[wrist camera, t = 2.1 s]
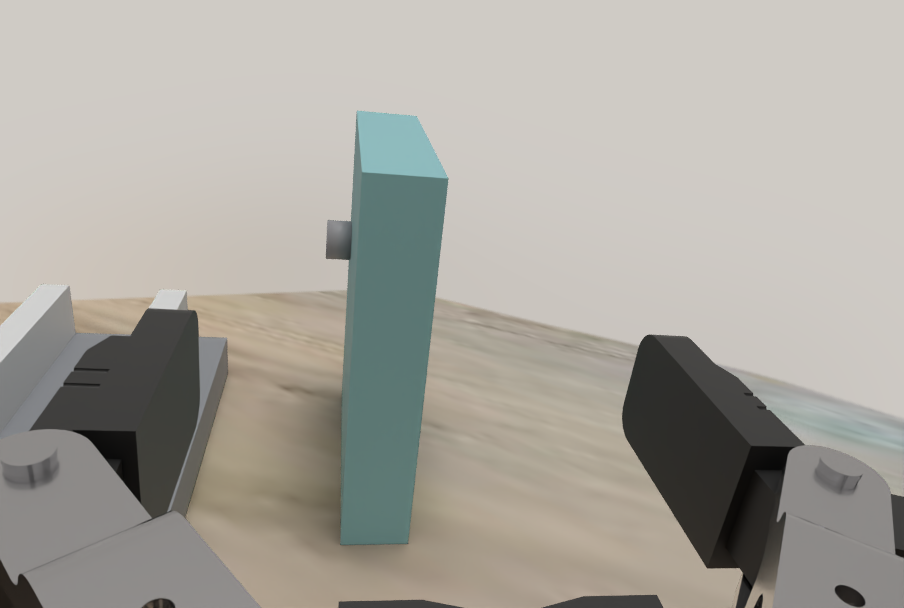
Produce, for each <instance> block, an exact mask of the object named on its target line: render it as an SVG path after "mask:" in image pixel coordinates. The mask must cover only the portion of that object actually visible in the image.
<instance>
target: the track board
mask: <svg viewBox="0 0 904 608" xmlns="http://www.w3.org/2000/svg"><path fill="white" fill-rule="evenodd" d="M149 308H155V309H174V310H188V306H187V291H186V290H165V289H161V290H159V292H158V294H157V296H156V297H155V299H154V301H153V302H152V304H151V306H150V307H149ZM111 335H115V336H131V335H124V334H94V333H76V332H75V325H74V317H73V309H72V302H71V294H70V286H69V285H49V284H41V285H40V286H39V287H38V288H37V289H36V290H35V291H34V292H33V293H32V294H31V295H30V296H29V297H28V298H27V299H26V300H25V301H24V302H23V303H22V304H21V305H20V306H19V307H18V308H17V309H16V310H15V311H14V312H13V313H12V314H11V315H10V316H9V317H8V318H7V319H6V320H5V322H4V323H3V324H2V325H1V326H0V439H2V438H5V437H8V436H10V435H14V434H18V433H22V432H27V431H29V430H30V429H31V427H32V426H33V424H34V423H35V422H36V420H37V419H38V417H39V416H40V415H41V413H42V412H43V410H44V409H45V408H46V406H47V405H48V403H49V402H50V401H51V399H52V398H53V396H54V395H55V394H56V392H57V391H58V389H59V388H60V387H63V382H64V381H65V380H66V378H67V377H68V375H69V374H70V373H71V371H74V367H75V366H76V364H77V363H78V361H79V360H80V359H81V357H82V356H83V354H84V353H85V352H86V350H87V349H89V348H91V347H93V346H94V345H96V344H98V343H99V342H101V341H103V340H104V339H106V338H108V337H109V336H111ZM199 370H200V405H199V414H198V420H197V425H196V429H195V432H194V435H193V438H192V441H191V444H190V446H189V449H188V452H187V455H186V458H185V461H184V464H183V467H182V470H181V473H180V476H179V479H178V482H177V485H176V488H175V491H174V494H173V497H172V499H171V502H170V505H169V508H168V511H171V510H173V511H176V512H178V513H180V514H181V515H182V516H183V517H184V518H185V516H186V512H187V509H188V506H189V502H190V499H191V496H192V492H193V489H194V485H195V482H196V479H197V475H198V472H199V469H200V465H201V462H202V458H203V455H204V452H205V448H206V445H207V442H208V438H209V435H210V431H211V428H212V425H213V421H214V418H215V415H216V411H217V408H218V404H219V401H220V398H221V394H222V391H223V388H224V384H225V381H226V377H227V374H228V355H227V338H216V337H199ZM168 511H167V512H168Z"/></svg>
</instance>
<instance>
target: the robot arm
mask: <svg viewBox="0 0 904 608" xmlns="http://www.w3.org/2000/svg"><path fill="white" fill-rule="evenodd" d="M199 405H200V370H199V333H198V318H197V313H196V311H194V310H174V309H155V308H148V309H147V310H146V311H145V313H144V315H143V316H142V318H141V320H140V321H139V323H138V324H137V326H136V328H135V329H134V331H133V332H132V334H131V336H115V335H111V336H109V337H108V338H106V339H104V340H103V341H101V342H99V343H98V344H96V345H94V346H93V347H91V348H89V349H87V350H86V352H85V353H84V354H83V356H82V357H81V359H80V360H79V361H78V363H77V364H76V366H75V367H74V371H71V373H70V374H69V375H68V377H67V378H66V380H65V381H64V382H63V387H60V388H59V389H58V391H57V392H56V394H55V395H54V396H53V398H52V399H51V401H50V402H49V403H48V405H47V406H46V408H45V409H44V410H43V412H42V413H41V415H40V416H39V417H38V419H37V420H36V422H35V423H34V424H33V426H32V427H31V429H30V430H29V431H27V432H22V433H18V434H14V435H10V436H8V437H5V438H2V439H0V608H261V607H260V606H259V605H258V604H257V602H256V601H255V600H254V599H253V598H252V596H251V595H250V594H249V593H248V592H247V591H246V589H245V588H244V587H243V586H242V585H241V584H240V582H239V581H238V580H237V579H236V578H235V576H234V575H233V574H232V573H231V572H230V571H229V569H228V568H227V567H226V566H225V565H224V563H223V562H222V561H221V560H220V559H219V558H218V556H217V555H216V554H215V553H214V552H213V551H212V549H211V548H210V547H209V546H208V545H207V543H206V542H205V541H204V540H203V539H202V538H201V536H200V535H199V534H198V533H197V532H196V531H195V529H194V528H193V527H192V526H191V525H190V523H189V522H188V521H187V520H186V519H185V518H184V517H183V516H182V515H181V514H180V513H178V512H176V511H173V510H171V511H168V508H169V505H170V502H171V499H172V497H173V494H174V491H175V488H176V485H177V482H178V479H179V476H180V473H181V470H182V467H183V464H184V461H185V458H186V455H187V452H188V449H189V446H190V444H191V441H192V438H193V435H194V432H195V429H196V425H197V420H198V414H199ZM622 422H623V429H624V433H625V436H626V438H627V440H628V442H629V444H630V445H631V447H632V448H633V450H634V452H635V453H636V455H637V456H638V458H639V460H640V461H641V463H642V464H643V466H644V468H645V469H646V471H647V472H648V474H649V476H650V477H651V479H652V481H653V482H654V484H655V485H656V487H657V489H658V490H659V492H660V493H661V495H662V497H663V498H664V500H665V501H666V503H667V505H668V506H669V508H670V509H671V511H672V513H673V514H674V516H675V517H676V519H677V521H678V522H679V524H680V525H681V527H682V529H683V530H684V532H685V534H686V535H687V537H688V538H689V540H690V542H691V543H692V545H693V546H694V548H695V550H696V551H697V553H698V554H699V556H700V558H701V559H702V561H703V562H704V564H705V566H706V567H707V568H740V569H741V571H742V572H743V573H742V575H741V578H740V580H739V583H738V585H737V588H736V591H735V595H734V599H733V604H732V608H904V497H902V496H897V495H893V494H891V492H890V488H889V486H888V484H887V483H886V481H885V480H884V479H883V478H882V477H881V476H880V475H879V474H878V473H877V472H876V471H875V470H873V469H872V468H871V467H869V466H868V465H866V464H865V463H863V462H861V461H860V460H858V459H856V458H854V457H852V456H850V455H847V454H845V453H842V452H840V451H837V450H833V449H830V448H826V447H821V446H813V445H805V444H804V443H803V442H802V441H801V440H800V439H799V438H798V437H796V436H795V435H794V434H793V433H792V432H791V431H790V430H789V429H788V428H787V427H786V426H785V425H784V424H783V423H782V422H781V421H780V420H779V419H778V418H777V417H776V416H775V415H774V414H773V413H772V412H771V411H770V410H766V406H765V405H764V404H763V403H762V402H761V401H760V400H759V399H758V398H757V397H754V396H753V393H752V392H751V391H750V390H749V389H748V388H747V387H746V386H745V385H744V384H743V383H742V382H741V381H740V380H739V379H738V378H737V377H736V376H734V375H732V374H731V373H729V372H727V371H726V370H724V369H722V368H721V367H719V366H717V365H716V364H714V363H713V362H712V361H711V360H710V358H709V357H707V355H706V354H704V352H703V351H702V350H701V349H700V348H699V347H698V346H697V345H696V344H695V343H694V342H693V341H692V340H691V339H689V338H688V337H684V336H666V335H665V336H664V335H647V336H645V337H644V338H643V340H642V341H641V343H640V345H639V348H638V352H637V356H636V360H635V364H634V367H633V371H632V375H631V379H630V383H629V386H628V390H627V394H626V398H625V402H624V406H623V413H622ZM167 511H168V512H167ZM338 608H462V607H457V606H452V605H446V604H441V603H436V602H431V601H425V600H393V601H346V602H339V607H338ZM543 608H663V606H662V604H661V602H660V600H659V598H658V596H657V595H629V596H583V597H580V598H576V599H572V600H569V601H565V602H561V603H557V604H554V605H550V606H546V607H543Z"/></svg>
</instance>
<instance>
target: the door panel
mask: <svg viewBox="0 0 904 608" xmlns="http://www.w3.org/2000/svg"><path fill="white" fill-rule="evenodd" d="M355 138H356V139H355V155H354V174H353V193H352V212H351V222H350V221H349V222H348V221H334V220H333V221H332V220H328V223H327V244H326V259H343V260H349V270H348V288H347V307H346V326H345V345H344V364H343V382H342V423H341V533H340V545H364V544H408V537H409V528H410V519H411V510H412V501H413V492H414V483H415V474H416V465H417V456H418V447H419V438H420V429H421V420H422V411H423V402H424V393H425V384H426V375H427V366H428V357H429V348H430V339H431V330H432V321H433V312H434V303H435V294H436V285H437V276H438V267H439V258H440V249H441V240H442V231H443V223H444V214H445V204H446V196H447V186H448V177H447V175H446V173H445V171H444V169H443V167H442V165H441V163H440V161H439V159H438V157H437V155H436V153H435V152H434V149H433V147H432V145H431V143H430V141H429V139H428V137H427V135H426V134H425V132H424V130H423V128H422V126H421V124H420V122H419V120H418V118H417V116H410V115H399V114H387V113H376V112H364V111H357V119H356V136H355Z"/></svg>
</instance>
